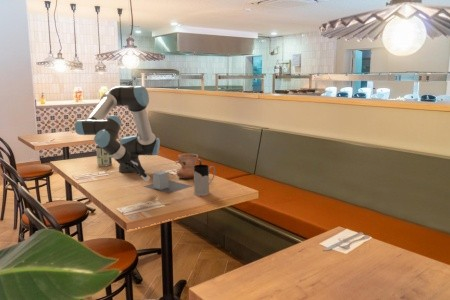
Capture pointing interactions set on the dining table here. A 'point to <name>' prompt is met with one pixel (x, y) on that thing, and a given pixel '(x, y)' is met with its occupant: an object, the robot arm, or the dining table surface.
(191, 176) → the ceramic jug
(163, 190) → the mat
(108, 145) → the robot arm
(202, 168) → the tall grey mug
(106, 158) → the coffee can
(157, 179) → the block
